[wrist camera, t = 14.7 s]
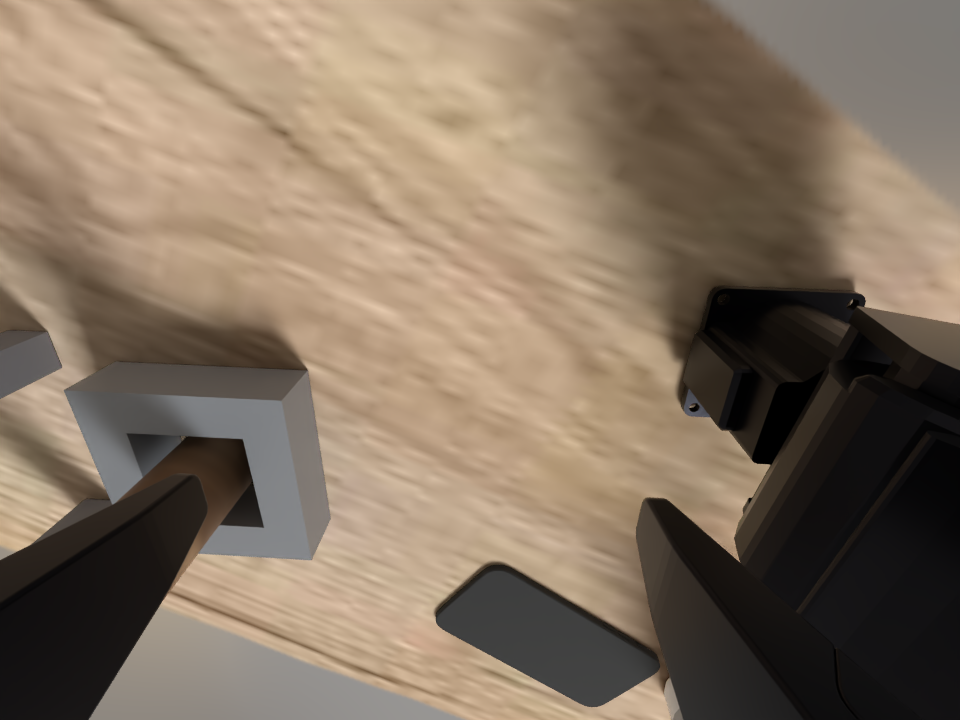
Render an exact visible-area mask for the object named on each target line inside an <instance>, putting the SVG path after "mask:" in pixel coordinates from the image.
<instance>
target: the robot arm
mask: <svg viewBox="0 0 960 720" xmlns="http://www.w3.org/2000/svg"><path fill="white" fill-rule="evenodd" d="M722 294H726V297H725V299H724V300H723V301H722V302H718V298H719V296H721V295H722ZM852 299H853V302H852V304H851V305H850V306H848V307H847V303H848V302H849V301H850V300H852ZM865 302H866V300H865V297H864V296H863V295H862V294H859V293H857V292H854V291H843V290H818V289H792V288H767V287H741V286H718V287H716V288H714V289H713V290H712V291H711V292H710V294H709V296H708V300H707V303H706V307H705V311H704V315H703V319H702V323H701V327H700V330H699V331H698V332H697V333H695V334H694V338H693V342H692V346H691V350H690V354H689V358H688V362H687V366H686V370H685V374H684V378H683V382H684V383H685V384H686V386H685V390H684V394H683V398H682V401H681V407H682V409H683V411H684V412H685V414H687V415H688V416H695V417H711V418H712V420H713V421H714V422H715V424H716V425H717V426H718V427H719V428H720V429H721V430H722V431H729V432H730V433H731V434H732V435H733V437H734V438H735V439H736V441H737V442H738V443H739V444H740V446H741V447H742V448H743V449H744V451H745V452H746V453H747V454H748V456H749V457H750V458H751V459H752V461H753V462H754V463H757V464H770V465H771V466H770V467H769V469H768V471H767V473H766V475H765V476H764V478H763V480H762V482H761V483H760V485H759V487H758V489H757V490H756V492H755V494H754V496H753V497H752V498H749V499H748V500H747V502H746V504H745V506H744V507H743V516H742V518H741V520H740V521H739V523H738V527H737V530H736V534H735V537H734V540H735V544H736V548H737V552H738V556H739V560H740V562H741V563H740V562H739V561H737V560H736V559H735V558H734V557H733V556H732V555H730V554H729V553H728V552H727V551H726V550H725V549H724V548H722V547H721V546H720V545H719V544H718V543H717V542H716V541H714V540H713V539H712V538H711V537H710V536H709V535H707V534H706V533H705V532H704V531H703V530H702V529H701V528H699V527H698V526H697V525H696V524H695V523H694V522H693V521H691V520H690V519H689V518H688V517H687V516H686V515H685V514H683V513H682V512H681V511H680V510H679V509H678V508H676V507H675V506H674V505H673V504H672V503H671V502H670V501H668V500H667V499H664V498H649V497H648V498H645V499H644V500H643V502H642V506H641V510H640V515H639V519H638V523H637V527H636V540H637V545H638V551H639V556H640V561H641V566H642V571H643V576H644V581H645V586H646V592H647V597H648V602H649V607H650V611H651V616H652V620H653V623H654V627H655V630H656V634H657V637H658V640H659V643H660V646H661V650H662V653H663V656H664V659H665V663H666V666H667V669H668V672H669V676H670V679H671V682H672V685H673V689H674V692H675V695H676V698H677V702H678V705H679V708H680V711H681V714H682V718H683V720H960V325H959V324H953V323H948V322H943V321H937V320H932V319H926V318H921V317H915V316H910V315H904V314H899V313H893V312H888V311H883V310H877V309H872V308H866V307H864V306H865ZM693 403H697V404H696V406H694V407H693V408H689V407H690V405H691V404H693ZM207 513H208V503H207V500H206V496H205V493H204V490H203V486H202V483H201V480H200V478H199V477H198V476H197V475H195V474H183V473H178V474H173V475H171V476H169V477H167V478H165V479H163V480H161V481H159V482H157V483H155V484H153V485H151V486H149V487H147V488H145V489H143V490H141V491H139V492H137V493H135V494H133V495H131V496H129V497H127V498H125V499H122V500H120V501H118V502H116V503H114V504H112V505H110V506H108V507H106V508H104V509H102V510H100V511H98V512H96V513H94V514H92V515H90V516H88V517H86V518H84V519H82V520H80V521H78V522H76V523H74V524H72V525H70V526H68V527H66V528H64V529H62V530H60V531H58V532H56V533H54V534H52V535H50V536H48V537H46V538H44V539H42V540H40V541H38V542H36V543H34V544H32V545H30V546H28V547H26V548H24V549H22V550H20V551H18V552H16V553H14V554H12V555H10V556H8V557H6V558H4V559H2V560H0V720H89V718H90V717H91V715H92V714H93V712H94V710H95V709H96V707H97V706H98V704H99V702H100V701H101V699H102V698H103V696H104V694H105V692H106V691H107V689H108V688H109V686H110V684H111V683H112V681H113V680H114V678H115V677H116V675H117V673H118V671H119V670H120V668H121V667H122V665H123V664H124V662H125V660H126V659H127V657H128V656H129V654H130V653H131V651H132V649H133V648H134V646H135V644H136V643H137V641H138V640H139V638H140V636H141V635H142V633H143V631H144V630H145V628H146V627H147V625H148V624H149V622H150V620H151V619H152V617H153V616H154V614H155V612H156V611H157V609H158V608H159V606H160V604H161V603H162V601H163V599H164V598H165V596H166V594H167V593H168V591H169V589H170V587H171V586H172V584H173V582H174V580H175V578H176V576H177V574H178V572H179V570H180V568H181V566H182V564H183V562H184V560H185V558H186V556H187V554H188V552H189V550H190V548H191V546H192V544H193V542H194V540H195V538H196V536H197V534H198V532H199V530H200V528H201V526H202V524H203V522H204V520H205V518H206V516H207Z"/></svg>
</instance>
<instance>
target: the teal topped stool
mask: <svg viewBox="0 0 960 720" xmlns="http://www.w3.org/2000/svg"><path fill="white" fill-rule="evenodd" d="M60 368H62V366H61V364H60V361H59V359H58V357H57V354H56V352H55V349H54V347H53V345H52V342H51V340H50V337H49V335H48V332H39V331H16V330H8V331H5V332H2V333H0V399H1V398H3V397H5V396H7V395H9V394H11V393H13V392H15V391H17V390H19V389H21V388H23V387H25V386H27V385H29V384H31V383H33V382H35V381H37V380H39V379H41V378H43V377H45V376H47V375H49V374H51V373H52V372H54V371H56V370H58V369H60ZM110 505H112V503H111V500H96V499H85V500H83V501H82V502H81V503H80V504H79V505H77V506H76V507H75V508H74V509H73V510H72V511H70V512H69V513H68V514H67V515H66V516H64V517H63V518H62V519H61V520H60V521H59V522H57V523H56V524H55V525H54V526H53V527H51V528H50V529H49V530H48V531H47V532H46V533H44V534H43V535H42V536H41V537H40V538H38V539H37V540H36V541H35V542H34V543H36V542H38V541H40V540H42V539H44V538H46V537H48V536H50V535H52V534H54V533H56V532H58V531H60V530H62V529H64V528H66V527H68V526H70V525H72V524H74V523H76V522H78V521H80V520H82V519H84V518H86V517H88V516H90V515H92V514H94V513H96V512H98V511H100V510H102V509H104V508H106V507H108V506H110ZM34 543H33V544H34ZM31 545H32V544H31Z"/></svg>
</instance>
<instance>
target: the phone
mask: <svg viewBox="0 0 960 720" xmlns="http://www.w3.org/2000/svg"><path fill="white" fill-rule="evenodd" d="M436 623H437V625H438V626H439V627H440V628H442V629H443V630H445V631H446V632H448V633H450V634H452V635H454V636H456V637H457V638H459V639H461V640H463V641H465V642H467V643H469V644H470V645H472V646H474V647H476V648H478V649H480V650H482V651H483V652H485V653H487V654H489V655H491V656H493V657H494V658H496V659H498V660H500V661H502V662H504V663H506V664H507V665H509V666H511V667H513V668H515V669H517V670H519V671H520V672H522V673H524V674H526V675H528V676H530V677H532V678H533V679H535V680H537V681H539V682H541V683H543V684H545V685H546V686H548V687H550V688H552V689H554V690H556V691H558V692H559V693H561V694H563V695H565V696H567V697H569V698H571V699H572V700H574V701H576V702H578V703H580V704H582V705H584V706H588V707H598V706H601V705H604V704H605V703H607V702H609V701H611V700H612V699H614V698H616V697H617V696H619V695H621V694H622V693H624V692H626V691H627V690H629V689H631V688H632V687H634V686H636V685H637V684H639V683H641V682H642V681H644V680H646V679H647V678H649V677H651V676H652V675H654V674H655V673H656V672H657V671H658V670H659V668H660V664H659V660H658V657H657V655H656V654H655V653H654V652H653V651H651V650H649V649H648V648H646V647H644V646H643V645H641V644H639V643H638V642H636V641H634V640H632V639H631V638H629V637H628V636H626V635H624V634H623V633H621V632H619V631H617V630H615V629H614V628H613V627H611V626H609V625H608V624H606V623H604V622H602V621H600V620H598V619H597V618H595V617H593V616H592V615H590V614H588V613H587V612H585V611H583V610H581V609H580V608H578V607H576V606H575V605H573V604H571V603H570V602H568V601H566V600H564V599H563V598H561V597H559V596H558V595H556V594H554V593H553V592H551V591H549V590H547V589H546V588H544V587H542V586H541V585H539V584H537V583H536V582H534V581H532V580H530V579H529V578H527V577H525V576H524V575H522V574H520V573H519V572H517V571H515V570H513V569H511V568H509V567H507V566H504V565H493V566H490V567H487V568H486V569H484V570H483V571H482V572H481V573H480V574H478V575H477V576H476V577H475V578H474V579H473V580H471V581H470V582H469V583H468V584H467V585H466V586H465V587H464V588H462V589H461V590H460V591H459V592H458V593H457V594H456V595H454V596H453V597H452V598H451V599H450V600H449V601H448V602H447V603H445V604H444V605H443V606H442V607H441V608H440V609H439V610H438V612H437V615H436Z"/></svg>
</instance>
